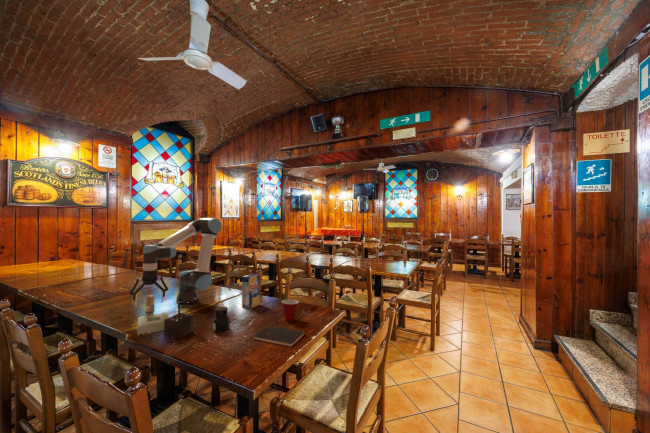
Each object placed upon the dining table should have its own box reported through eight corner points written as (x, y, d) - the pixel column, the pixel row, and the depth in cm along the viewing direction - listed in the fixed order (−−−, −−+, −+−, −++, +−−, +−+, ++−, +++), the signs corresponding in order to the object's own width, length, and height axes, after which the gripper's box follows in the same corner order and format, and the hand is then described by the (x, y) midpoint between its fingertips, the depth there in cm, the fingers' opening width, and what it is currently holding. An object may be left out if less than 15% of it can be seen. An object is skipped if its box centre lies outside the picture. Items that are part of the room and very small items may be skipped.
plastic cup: (301, 318, 175) (302, 299, 175) (292, 324, 165) (292, 304, 165) (288, 315, 180) (288, 297, 180) (277, 321, 170) (277, 301, 170)
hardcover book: (291, 348, 137) (291, 343, 137) (252, 340, 145) (252, 335, 145) (305, 335, 152) (305, 331, 152) (269, 328, 160) (269, 324, 160)
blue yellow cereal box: (241, 307, 195) (242, 276, 195) (252, 303, 205) (252, 273, 205) (249, 308, 192) (249, 277, 192) (259, 304, 202) (259, 274, 202)
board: (167, 320, 170) (167, 312, 170) (169, 329, 156) (169, 320, 156) (138, 325, 162) (138, 317, 162) (137, 335, 148) (137, 326, 148)
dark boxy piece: (179, 339, 144) (179, 305, 144) (163, 336, 147) (163, 303, 147) (201, 328, 159) (201, 297, 159) (186, 325, 162) (186, 295, 162)
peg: (154, 317, 174) (154, 294, 174) (154, 320, 170) (154, 296, 170) (145, 319, 172) (145, 295, 172) (144, 322, 167) (145, 297, 167)
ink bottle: (217, 325, 162) (217, 305, 162) (232, 326, 162) (232, 306, 162) (209, 332, 153) (210, 311, 153) (225, 333, 152) (225, 311, 152)
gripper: (172, 267, 181) (171, 299, 180) (125, 270, 167) (125, 305, 167) (173, 269, 174) (172, 302, 174) (124, 272, 161) (124, 308, 161)
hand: (149, 303), depth 171 cm, fingers open, 13 cm apart
